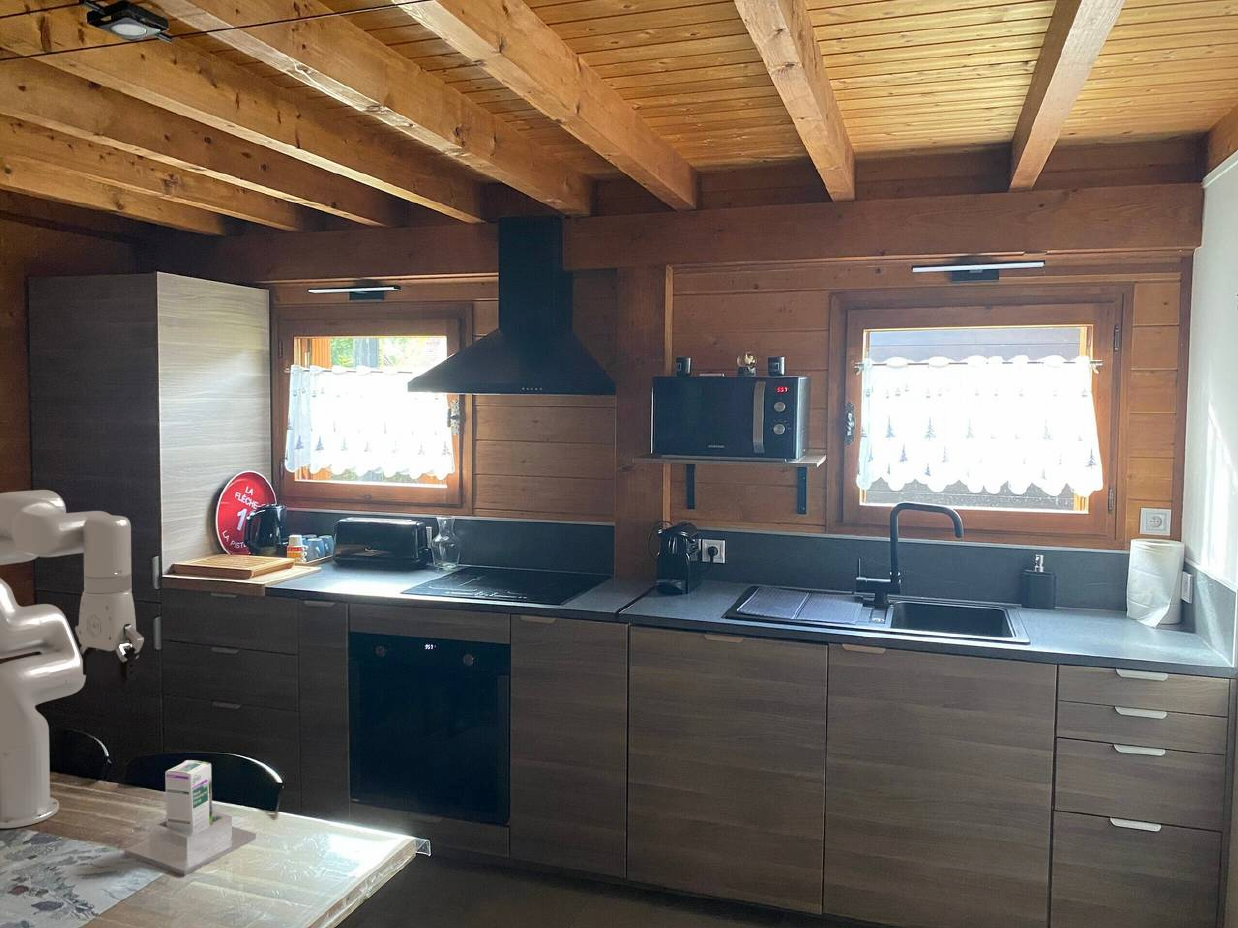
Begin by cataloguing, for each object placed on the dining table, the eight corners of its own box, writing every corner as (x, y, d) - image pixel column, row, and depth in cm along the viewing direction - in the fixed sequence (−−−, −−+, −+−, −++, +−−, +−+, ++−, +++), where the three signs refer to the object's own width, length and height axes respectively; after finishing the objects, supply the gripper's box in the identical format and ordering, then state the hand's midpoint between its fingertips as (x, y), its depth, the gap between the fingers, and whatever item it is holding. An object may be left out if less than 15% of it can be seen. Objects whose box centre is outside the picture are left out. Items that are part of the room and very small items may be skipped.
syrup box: (192, 850, 173) (191, 773, 172) (165, 845, 174) (164, 769, 173) (213, 836, 178) (212, 762, 177) (186, 831, 180) (186, 758, 179)
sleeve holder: (124, 854, 172) (123, 828, 172) (197, 820, 187) (197, 796, 186) (184, 875, 165) (184, 848, 165) (255, 838, 180) (255, 813, 179)
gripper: (57, 582, 169) (59, 675, 171) (120, 593, 162) (122, 690, 163) (96, 576, 176) (97, 665, 177) (159, 586, 168) (160, 679, 170)
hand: (109, 677), depth 170 cm, fingers open, 9 cm apart
